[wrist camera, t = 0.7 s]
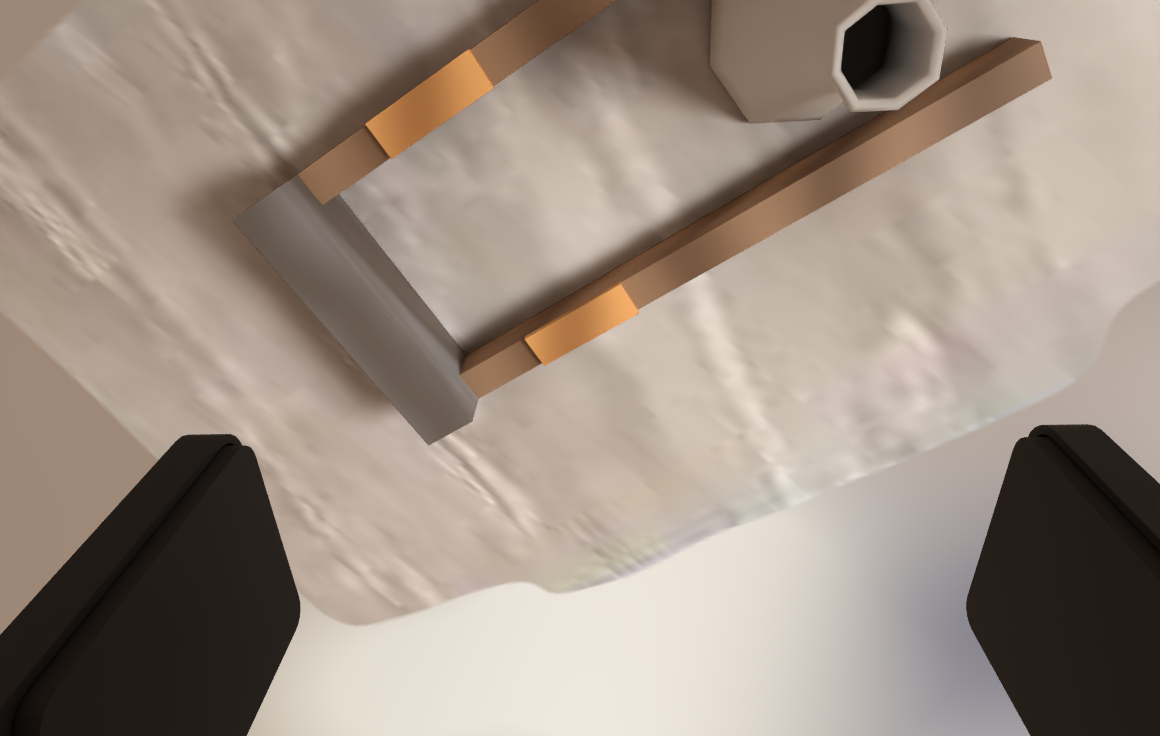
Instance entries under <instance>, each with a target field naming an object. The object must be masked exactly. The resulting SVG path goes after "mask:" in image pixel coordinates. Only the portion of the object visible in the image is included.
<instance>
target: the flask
mask: <svg viewBox="0 0 1160 736" xmlns="http://www.w3.org/2000/svg"><path fill="white" fill-rule="evenodd" d="M947 30H948V29H947V27H946V25H945V23H944V21H943V20H942V18H941V16H940V14H939V12H938V10H937V9H936V7H935V5H934V3H933V1H932V0H712V6H711V41H710V67H711V69H712V70H713V71H714V73H715V74H716V76H717V77H718V79H719V80H720V81H721V83H722V84H723V86H724V87H725V89H726V90H727V91H728V93H729V94H730V96H731V97H732V99H733V100H734V102H735V103H736V104H737V106H738V107H739V109H740V110H741V112H742V113H743V114H744V116H745V117H746V119H747V120H748V122H749V123H766V122H785V121H804V120H820V119H821V118H823V117H824V116H825V115H827V114H828V113H829V112H831V111H832V110H833V109H835V108H836V107H837V106H839V105H840V104H841V103H842V102H844V103H845V105H846V106H847V108H848V109H849V111H850V112H868V111H887V110H898V109H900V108H901V107H902V106H904V105H905V104H907V103H908V102H909V101H911V100H912V99H913V98H915V97H916V96H917V95H919V94H920V93H921V92H923V91H924V90H925V89H927V88H928V87H929V86H931V85H932V84H934V83H935V82H936V81H938V80H939V77H940V72H941V66H942V60H943V54H944V48H945V42H946V36H947Z"/></svg>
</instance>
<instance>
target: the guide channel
mask: <svg viewBox="0 0 1160 736" xmlns="http://www.w3.org/2000/svg"><path fill="white" fill-rule="evenodd" d="M615 1H616V0H539V1H537V2H536V3H535V4H533V5H532V6H530V7H529V8H528V9H526V10H525V11H523V12H522V13H521V14H519V15H518V16H517V17H515V18H514V19H512V20H511V21H510V22H508V23H507V24H505V25H504V26H503V27H501V28H500V29H498V30H497V31H496V32H494V33H493V34H492V35H490V36H489V37H487V38H486V39H485V40H483V41H482V42H480V43H479V44H478V45H476V46H475V47H474V48H472V49H471V50H470V49H468V50H467V51H465V52H464V53H463V54H461V55H460V56H458V57H457V58H456V59H454V60H453V61H451V62H450V63H449V64H447V65H446V66H445V67H443V68H442V69H440V70H439V71H438V72H436V73H435V74H433V75H432V76H431V77H429V78H428V79H427V80H425V81H424V82H422V83H421V84H420V85H418V86H417V87H415V88H414V89H413V90H411V91H410V92H409V93H407V94H406V95H404V96H403V97H402V98H400V99H399V100H397V101H396V102H395V103H393V104H392V105H391V106H389V107H388V108H386V109H385V110H384V111H382V112H381V113H379V114H378V115H377V116H375V117H374V118H373V119H371V120H370V121H368V122H367V123H366V125H365V126H364V127H363V128H361V129H360V130H359V131H357V132H356V133H354V134H353V135H352V136H350V137H349V138H347V139H346V140H345V141H343V142H342V143H340V144H339V145H338V146H336V147H335V148H334V149H332V150H331V151H329V152H328V153H327V154H325V155H324V156H322V157H321V158H320V159H318V160H317V161H316V162H314V163H313V164H311V165H310V166H309V167H307V168H306V169H304V170H303V171H302V172H300V173H299V174H298V175H296V176H295V177H293V178H292V179H290V180H289V181H287V182H286V183H284V184H283V185H281V186H280V187H278V188H277V189H275V190H274V191H273V192H271V193H270V194H268V195H267V196H266V197H264V198H263V199H262V200H260V201H259V202H257V203H256V204H255V205H253V206H252V207H250V208H249V209H248V210H246V211H245V212H243V213H242V214H241V215H239V216H238V217H237V218H235V219H234V220H232V221H233V222H234V224H235V225H236V226H237V227H238V228H239V229H240V230H241V232H242V233H243V234H244V235H245V236H246V237H247V238H248V240H249V241H250V242H251V243H252V244H253V245H254V246H255V248H256V249H257V250H258V251H259V252H260V253H261V254H262V256H263V257H264V258H265V259H266V260H267V261H268V262H269V264H270V265H271V266H272V267H273V268H274V269H275V270H276V272H277V273H278V274H279V275H280V276H281V277H282V278H283V280H284V281H285V282H286V283H287V284H288V285H289V286H290V288H291V289H292V290H293V291H294V292H295V293H296V295H297V296H298V297H299V298H300V299H301V300H302V301H303V303H304V304H305V305H306V306H307V307H308V308H309V309H310V311H311V312H312V313H313V314H314V315H315V316H316V317H317V319H318V320H319V321H320V322H321V323H322V324H323V325H324V327H325V328H326V329H327V330H328V331H329V332H330V333H331V335H332V336H333V337H334V338H335V339H336V340H337V341H338V343H339V344H340V345H341V346H342V347H343V348H344V349H345V351H346V352H347V353H348V354H349V355H350V356H351V357H352V359H353V360H354V361H355V362H356V363H357V364H358V365H359V367H360V368H361V369H362V370H363V371H364V372H365V373H366V375H367V376H368V377H369V378H370V379H371V380H372V381H373V383H374V384H375V385H376V386H377V387H378V388H379V389H380V391H381V392H382V393H383V394H384V395H385V396H386V397H387V399H388V400H389V401H390V402H391V403H392V404H393V405H394V407H395V408H396V409H397V410H398V411H399V412H400V413H401V415H402V416H403V417H404V418H405V419H406V420H407V421H408V423H409V424H410V425H411V426H412V427H413V428H414V429H415V431H416V432H417V433H418V434H419V435H420V436H421V437H422V439H423V440H424V441H425V442H426V443H427V444H428V445H430V444H432V443H434V442H436V441H437V440H439V439H441V438H443V437H445V436H447V435H448V434H450V433H452V432H454V431H456V430H457V429H459V428H461V427H463V426H465V425H467V424H468V423H470V422H472V420H473V417H474V413H475V409H476V406H477V402H478V399H479V398H480V397H482V396H484V395H486V394H488V393H489V392H491V391H493V390H495V389H497V388H498V387H500V386H502V385H504V384H506V383H507V382H509V381H511V380H513V379H514V378H516V377H518V376H520V375H522V374H523V373H525V372H527V371H529V370H531V369H532V368H534V367H536V366H538V365H540V364H541V363H542V364H543V365H544V366H545V365H547V364H548V363H550V362H552V361H554V360H556V359H557V358H559V357H561V356H563V355H565V354H566V353H568V352H570V351H572V350H574V349H575V348H577V347H579V346H581V345H583V344H584V343H586V342H588V341H590V340H592V339H593V338H595V337H597V336H599V335H601V334H602V333H604V332H606V331H608V330H610V329H611V328H613V327H615V326H617V325H619V324H620V323H622V322H624V321H626V320H628V319H629V318H631V317H633V316H635V315H636V314H638V313H639V311H638V309H640V308H642V307H643V306H645V305H647V304H649V303H651V302H652V301H654V300H656V299H658V298H659V297H661V296H663V295H665V294H667V293H668V292H670V291H672V290H674V289H676V288H677V287H679V286H681V285H683V284H685V283H686V282H688V281H690V280H692V279H693V278H695V277H697V276H699V275H701V274H702V273H704V272H706V271H708V270H710V269H711V268H713V267H715V266H717V265H719V264H720V263H722V262H724V261H726V260H727V259H729V258H731V257H733V256H735V255H736V254H738V253H740V252H742V251H744V250H745V249H747V248H749V247H751V246H753V245H754V244H756V243H758V242H760V241H762V240H763V239H765V238H767V237H769V236H770V235H772V234H774V233H776V232H778V231H779V230H781V229H783V228H785V227H787V226H788V225H790V224H792V223H794V222H796V221H797V220H799V219H801V218H803V217H804V216H806V215H808V214H810V213H812V212H813V211H815V210H817V209H819V208H821V207H822V206H824V205H826V204H828V203H830V202H831V201H833V200H835V199H837V198H838V197H840V196H842V195H844V194H846V193H847V192H849V191H851V190H853V189H855V188H856V187H858V186H860V185H862V184H864V183H865V182H867V181H869V180H871V179H872V178H874V177H876V176H878V175H880V174H881V173H883V172H885V171H887V170H889V169H890V168H892V167H894V166H896V165H898V164H899V163H901V162H903V161H905V160H907V159H908V158H910V157H912V156H914V155H915V154H917V153H919V152H921V151H923V150H924V149H926V148H928V147H930V146H932V145H933V144H935V143H937V142H939V141H941V140H942V139H944V138H946V137H948V136H949V135H951V134H953V133H955V132H957V131H958V130H960V129H962V128H964V127H966V126H967V125H969V124H971V123H973V122H975V121H976V120H978V119H980V118H982V117H983V116H985V115H987V114H989V113H991V112H992V111H994V110H996V109H998V108H1000V107H1001V106H1003V105H1005V104H1007V103H1009V102H1010V101H1012V100H1014V99H1016V98H1017V97H1019V96H1021V95H1023V94H1025V93H1026V92H1028V91H1030V90H1032V89H1034V88H1035V87H1037V86H1039V85H1041V84H1043V83H1044V82H1046V81H1048V80H1050V79H1052V76H1051V73H1050V70H1049V67H1048V63H1047V60H1046V57H1045V53H1044V50H1043V47H1042V44H1041V41H1035V40H1028V39H1022V38H1015V37H1013V38H1011V39H1009V40H1008V41H1006V42H1004V43H1002V44H1001V45H999V46H997V47H996V48H994V49H992V50H990V51H989V52H987V53H985V54H984V55H982V56H980V57H978V58H977V59H975V60H973V61H971V62H970V63H968V64H966V65H965V66H963V67H961V68H959V69H958V70H956V71H954V72H953V73H951V74H949V75H947V76H946V77H944V78H942V79H941V80H939V81H937V82H935V83H934V84H932V85H931V86H929V87H928V88H927V89H925V90H924V91H923V92H921V93H920V94H919V95H917V96H916V97H915V98H913V99H912V100H911V101H909V102H908V103H907V104H905V105H904V106H902V107H901V108H900V109H898V110H887V111H886V112H884V113H882V114H880V115H879V116H877V117H875V118H874V119H872V120H870V121H868V122H867V123H865V124H863V125H861V126H860V127H858V128H856V129H855V130H853V131H851V132H849V133H848V134H846V135H844V136H843V137H841V138H839V139H837V140H836V141H834V142H832V143H831V144H829V145H827V146H825V147H824V148H822V149H820V150H818V151H817V152H815V153H813V154H812V155H810V156H808V157H806V158H805V159H803V160H801V161H800V162H798V163H796V164H794V165H793V166H791V167H789V168H788V169H786V170H784V171H782V172H781V173H779V174H777V175H776V176H774V177H772V178H770V179H769V180H767V181H765V182H763V183H762V184H760V185H758V186H757V187H755V188H753V189H751V190H750V191H748V192H746V193H745V194H743V195H741V196H739V197H738V198H736V199H734V200H733V201H731V202H729V203H727V204H726V205H724V206H722V207H721V208H719V209H717V210H715V211H714V212H712V213H710V214H708V215H707V216H705V217H703V218H702V219H700V220H698V221H696V222H695V223H693V224H691V225H690V226H688V227H686V228H684V229H683V230H681V231H679V232H678V233H676V234H674V235H672V236H671V237H669V238H667V239H666V240H664V241H662V242H660V243H659V244H657V245H655V246H653V247H652V248H650V249H648V250H647V251H645V252H643V253H641V254H640V255H638V256H636V257H635V258H633V259H631V260H629V261H628V262H626V263H624V264H623V265H621V266H619V267H617V268H616V269H614V270H612V271H610V272H609V273H607V274H605V275H604V276H602V277H600V278H598V279H597V280H595V281H593V282H592V283H590V284H588V285H586V286H585V287H583V288H581V289H580V290H578V291H576V292H574V293H573V294H571V295H569V296H568V297H566V298H564V299H562V300H561V301H559V302H557V303H555V304H554V305H552V306H550V307H549V308H547V309H545V310H543V311H542V312H540V313H538V314H537V315H535V316H533V317H531V318H530V319H528V320H526V321H525V322H523V323H521V324H519V325H518V326H516V327H514V328H513V329H511V330H509V331H507V332H506V333H504V334H502V335H500V336H499V337H497V338H495V339H494V340H492V341H490V342H488V343H487V344H485V345H483V346H482V347H480V348H478V349H476V350H475V351H473V352H471V353H470V354H468V355H465V353H464V352H463V351H462V349H461V348H460V347H459V346H458V344H457V343H456V342H455V341H454V339H453V338H452V337H451V336H450V334H449V333H448V332H447V330H446V329H445V328H444V327H443V325H442V324H441V323H440V322H439V320H438V319H437V318H436V317H435V315H434V314H433V313H432V311H431V310H430V309H429V308H428V306H427V305H426V304H425V303H424V301H423V300H422V299H421V298H420V296H419V295H418V294H417V293H416V291H415V290H414V289H413V287H412V286H411V285H410V284H409V282H408V281H407V280H406V279H405V277H404V276H403V275H402V274H401V272H400V271H399V270H398V268H397V267H396V266H395V265H394V263H393V262H392V261H391V260H390V258H389V257H388V256H387V255H386V253H385V252H384V251H383V250H382V248H381V247H380V246H379V244H378V243H377V242H376V241H375V239H374V238H373V237H372V236H371V234H370V233H369V232H368V231H367V229H366V228H365V227H364V225H363V224H362V223H361V222H360V220H359V219H358V218H357V217H356V215H355V214H354V213H353V212H352V210H351V209H350V208H349V207H348V205H347V204H346V203H345V201H344V200H343V199H342V198H341V196H340V195H339V193H341V192H342V191H344V190H345V189H346V188H348V187H349V186H351V185H352V184H354V183H355V182H356V181H358V180H359V179H361V178H362V177H364V176H365V175H367V174H368V173H369V172H371V171H372V170H374V169H375V168H377V167H378V166H379V165H381V164H382V163H384V162H385V161H387V160H388V159H389V158H391V159H392V158H394V157H395V156H397V155H398V154H400V153H401V152H402V151H404V150H405V149H407V148H408V147H410V146H411V145H412V144H414V143H415V142H417V141H418V140H420V139H421V138H422V137H424V136H425V135H427V134H428V133H430V132H431V131H433V130H434V129H435V128H437V127H438V126H440V125H441V124H443V123H444V122H445V121H447V120H448V119H450V118H451V117H453V116H454V115H456V114H457V113H458V112H460V111H461V110H463V109H464V108H466V107H467V106H468V105H470V104H471V103H473V102H474V101H476V100H477V99H478V98H480V97H481V96H483V95H484V94H486V93H487V92H489V91H490V90H491V89H493V88H494V85H496V84H497V83H498V82H500V81H501V80H503V79H504V78H506V77H507V76H508V75H510V74H511V73H513V72H514V71H516V70H517V69H519V68H520V67H521V66H523V65H524V64H526V63H527V62H529V61H530V60H531V59H533V58H534V57H536V56H537V55H539V54H540V53H541V52H543V51H544V50H546V49H547V48H549V47H550V46H551V45H553V44H554V43H556V42H557V41H559V40H560V39H562V38H563V37H564V36H566V35H567V34H569V33H570V32H572V31H573V30H574V29H576V28H577V27H579V26H580V25H582V24H583V23H584V22H586V21H587V20H589V19H590V18H592V17H593V16H595V15H596V14H597V13H599V12H600V11H602V10H603V9H605V8H606V7H607V6H609V5H610V4H612V3H613V2H615Z"/></svg>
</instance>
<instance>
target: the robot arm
mask: <svg viewBox="0 0 1160 736" xmlns="http://www.w3.org/2000/svg"><path fill="white" fill-rule="evenodd" d="M966 606H967V607H966V610H967V617H968V621H969V624H970V626H971V629H972V631H973V632H974V634H975V636H976V638H977V640H978V642H979V643H980V645H981V647H982V649H983V651H984V653H985V654H986V656H987V658H988V660H989V662H990V663H991V665H992V667H993V669H994V671H995V672H996V674H997V676H998V678H999V680H1000V681H1001V683H1002V685H1003V687H1004V689H1005V690H1006V692H1007V694H1008V696H1009V697H1010V699H1011V701H1012V702H1013V705H1014V707H1015V708H1016V710H1017V712H1018V714H1019V716H1020V717H1021V719H1022V721H1023V723H1024V725H1025V726H1026V728H1027V730H1028V732H1029V734H1030V735H1031V736H1160V484H1159V483H1158V482H1157V481H1156V480H1155V479H1154V478H1153V477H1152V476H1151V475H1149V474H1148V473H1147V472H1146V471H1145V470H1144V469H1143V468H1142V467H1141V466H1140V465H1138V464H1137V463H1136V462H1135V461H1134V460H1133V459H1132V458H1131V457H1130V456H1129V455H1128V454H1127V453H1126V452H1125V451H1124V450H1122V449H1121V448H1120V447H1119V446H1118V445H1117V444H1116V443H1115V442H1114V441H1113V440H1112V439H1111V438H1110V437H1109V436H1108V435H1106V434H1105V433H1104V432H1103V431H1102V430H1101V429H1099V428H1097V427H1096V426H1093V425H1087V424H1086V425H1040V426H1037V427H1035V428H1034V429H1033V430H1032V431H1031V432H1030V434H1029V436H1028V437H1024V438H1021V439H1019V440H1018V441H1017V442H1016V444H1015V447H1014V449H1013V452H1012V455H1011V458H1010V461H1009V465H1008V468H1007V471H1006V474H1005V478H1004V481H1003V484H1002V487H1001V490H1000V494H999V497H998V500H997V504H996V507H995V510H994V513H993V517H992V519H991V523H990V526H989V529H988V532H987V536H986V539H985V542H984V545H983V548H982V551H981V555H980V558H979V561H978V564H977V567H976V571H975V574H974V577H973V580H972V584H971V587H970V590H969V593H968V596H967V603H966ZM299 618H300V600H299V596H298V592H297V589H296V586H295V583H294V579H293V576H292V573H291V570H290V566H289V563H288V560H287V556H286V553H285V550H284V547H283V543H282V540H281V537H280V534H279V530H278V527H277V524H276V521H275V517H274V514H273V511H272V508H271V504H270V501H269V498H268V495H267V491H266V488H265V485H264V482H263V478H262V475H261V472H260V469H259V465H258V462H257V459H256V456H255V454H254V451H253V450H252V449H251V448H250V447H248V446H242V444H241V442H240V441H239V440H238V438H237V437H236V436H233V435H231V434H211V435H185V436H182V437H181V438H179V439H178V440H177V441H176V442H175V443H174V444H173V445H172V446H171V447H170V448H169V449H168V451H167V452H166V453H165V454H164V455H163V456H162V457H161V458H160V459H159V461H158V462H157V463H156V464H155V465H154V466H153V467H152V468H151V469H150V470H149V472H148V473H147V474H146V475H145V476H144V477H143V478H142V479H141V480H140V481H139V483H138V484H137V485H136V486H135V487H134V488H133V489H132V490H131V491H130V492H129V494H128V495H127V496H126V497H125V498H124V499H123V500H122V501H121V502H120V504H119V505H118V506H117V507H116V508H115V509H114V510H113V511H112V512H111V514H110V515H109V516H108V517H107V518H106V519H105V520H104V521H103V522H102V523H101V524H100V526H99V527H98V528H97V529H96V530H95V531H94V532H93V533H92V534H91V536H90V537H89V538H88V539H87V540H86V541H85V542H84V543H83V544H82V546H81V547H80V548H79V549H78V550H77V551H76V552H75V553H74V554H73V555H72V557H71V558H70V559H69V560H68V561H67V562H66V563H65V564H64V565H63V566H62V568H61V569H60V570H59V571H58V572H57V573H56V574H55V575H54V576H53V577H52V579H51V580H50V581H49V582H48V583H47V584H46V585H45V586H44V587H43V588H42V590H41V591H40V592H39V593H38V594H37V595H36V596H35V597H34V599H32V601H31V602H30V603H29V604H28V605H27V606H26V607H25V609H23V610H22V612H21V613H20V614H19V615H18V616H17V617H16V618H15V619H14V620H13V622H12V623H11V624H10V625H9V626H8V627H7V628H6V629H5V630H4V631H3V633H2V634H1V635H0V736H247V734H248V732H249V729H250V727H251V725H252V723H253V721H254V719H255V717H256V714H257V712H258V710H259V708H260V706H261V704H262V702H263V699H264V697H265V695H266V693H267V691H268V689H269V686H270V684H271V682H272V680H273V678H274V676H275V674H276V672H277V669H278V667H279V665H280V663H281V661H282V659H283V656H284V655H285V652H286V650H287V648H288V646H289V644H290V642H291V640H292V637H293V635H294V633H295V631H296V628H297V626H298V622H299Z"/></svg>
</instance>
